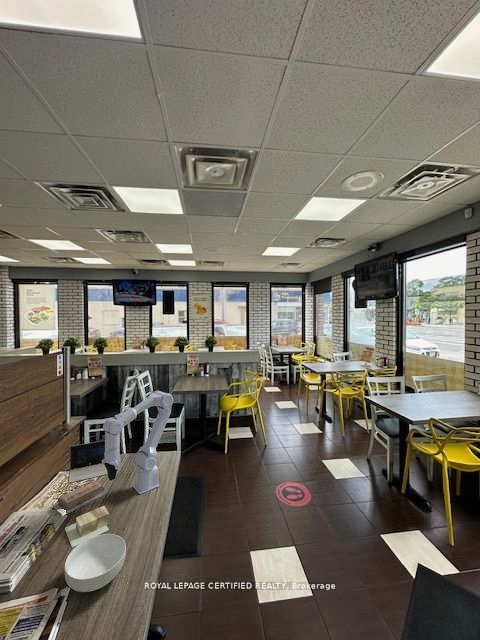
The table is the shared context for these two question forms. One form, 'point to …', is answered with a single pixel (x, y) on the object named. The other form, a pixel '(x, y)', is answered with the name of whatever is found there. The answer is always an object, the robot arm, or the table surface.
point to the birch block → (92, 521)
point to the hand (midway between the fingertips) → (112, 479)
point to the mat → (76, 539)
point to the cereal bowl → (95, 562)
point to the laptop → (87, 461)
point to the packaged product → (80, 497)
